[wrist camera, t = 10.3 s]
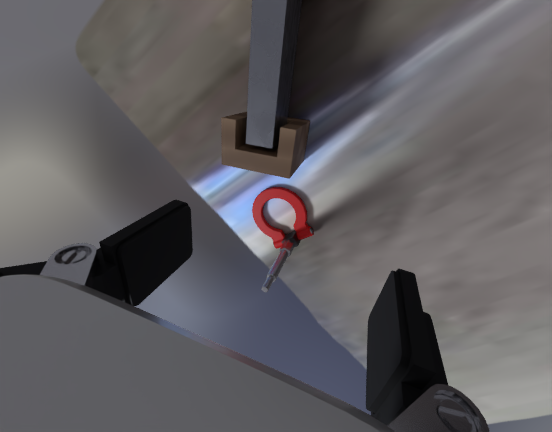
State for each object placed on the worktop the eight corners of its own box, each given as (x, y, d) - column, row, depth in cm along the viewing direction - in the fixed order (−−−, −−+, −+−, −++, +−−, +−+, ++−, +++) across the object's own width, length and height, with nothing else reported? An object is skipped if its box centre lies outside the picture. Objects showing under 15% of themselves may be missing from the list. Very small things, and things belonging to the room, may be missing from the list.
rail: (276, -51, 23) (256, -82, 18) (308, -50, 22) (295, -82, 18) (261, 135, 31) (245, 143, 27) (284, 139, 30) (272, 148, 26)
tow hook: (245, 199, 39) (275, 247, 41) (196, 239, 28) (240, 302, 30) (290, 176, 35) (320, 230, 37) (253, 212, 24) (300, 286, 26)
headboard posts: (258, -81, 23) (220, -142, 17) (343, -83, 22) (335, -151, 15) (247, 149, 34) (221, 164, 28) (303, 160, 33) (289, 178, 26)
